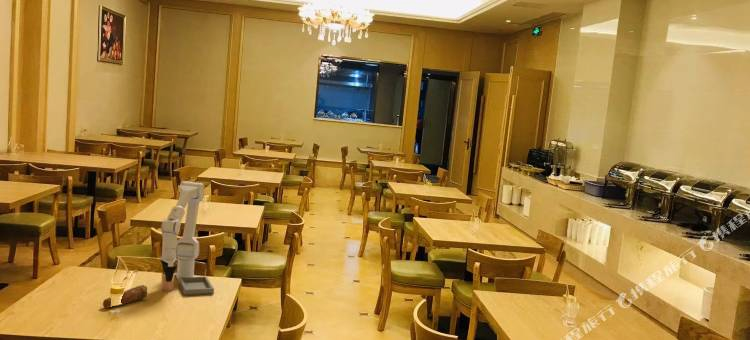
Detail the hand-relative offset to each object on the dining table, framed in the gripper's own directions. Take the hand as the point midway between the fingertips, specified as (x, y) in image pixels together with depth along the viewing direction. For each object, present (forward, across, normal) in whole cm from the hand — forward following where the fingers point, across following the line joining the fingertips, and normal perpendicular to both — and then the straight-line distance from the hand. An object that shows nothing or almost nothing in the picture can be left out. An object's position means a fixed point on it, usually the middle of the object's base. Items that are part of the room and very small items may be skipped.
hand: (167, 278), depth 271 cm
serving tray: (+5, 0, +12) cm, 13 cm away
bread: (+6, +15, -18) cm, 24 cm away
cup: (+5, 0, 0) cm, 5 cm away
